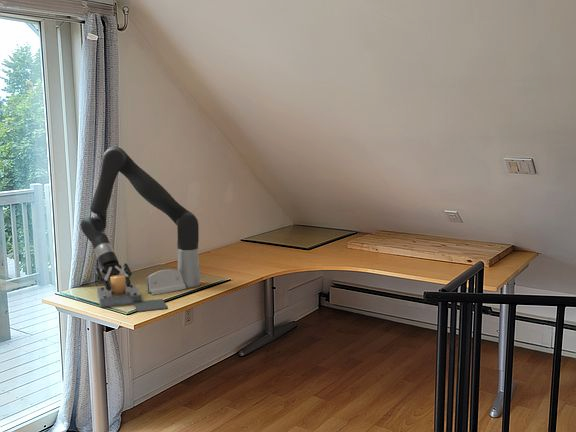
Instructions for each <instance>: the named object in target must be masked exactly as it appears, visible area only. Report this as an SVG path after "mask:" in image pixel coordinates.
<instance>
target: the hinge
mask: <svg viewBox="0 0 576 432" xmlns="http://www.w3.org/2000/svg"><path fill="white" fill-rule="evenodd" d="M146 287H147V288H146V291H147V293H148V294H149V293H151V296H155V295H154V294H156V295H160V293H161V294H165V293H170V292H176V291H179V290H180V291H181V290H182V291H183V290H185V289H187V288H186V286H185V284H184V281H183V278H182V275H181V272H180V271H178V269H169V268H168V269H161V270H158V271H155V272H154V273H151V274H149V275H148V276H147V277H146Z"/></svg>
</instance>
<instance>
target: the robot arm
mask: <svg viewBox="0 0 576 432" xmlns="http://www.w3.org/2000/svg"><path fill="white" fill-rule="evenodd" d="M119 173H120V174H122V175H123V176H124V177H125V178H126V179H127V180H128V181H129V183H130V184H131V186H132V187H133V188H134V189H135V191H136V192H137V193H138V194H139V195H140V196H141V197H142V198H143V199H144V200H145V201H147V202H148V203H149V204H150V205H151V206H153V207H154V208H156V209H157V210H159V211H161V212H162V213H164V214H165V215H166V216H168V217H169V219H170V220H171V221H172V222H173V223H174V224H175V226H177V227H176V228H177V243H176V244H177V245H176V246H177V270H178V271H180V272H181V275H182V278H183V281H184V284H185V286H186V289H188V288H195V287H200V285H201V272H200V271H201V269H200V267H201V266H200V264H199V239H200V238H199V235H200V234H199V221H198V218H197V216H195V214H194V213H192V212H191V211H189V210H188V209H187V208H185V207H184V206H183V205H181V204H180V203H179V202H178V201H177V200H175V198H174V197H173V196H172V195H171V194H170V193H169V192H168V190H166V188H165V187H163V186H162V184H160V183H159V182H158V180H156V179H155V178H153V176H151V175H150V174H149V173H147V172H146V171H145V169H143V168H141V167H140V166H139V165H138V164H137V163H136V162H135V161H134V160H133V159H132V158H131V156H129V155H128V153H127V152H126V151H125V150H124V149H123V148H121V147H119V146H110V147H108V148H107V149H106V150H105V151H104V153H103V155H102V163H101V170H100V176H99V178H98V179H99V180H98V182H97V186H96V188H95V190H94V191H95V192H94V194H93V197H92V201H91V204H90V207H89V209H90V212H91V213H93V214H95V215H96V217H93V216H85V217H83V218H82V219H81V222H80V229H81V231H82V233H83V235H84V236H85V237H86V239H88V241H89V242H90V243H91V245H92V247H93V250H94V253H95V257H96V258H97V261H98V264H99V266H100V268H99V267H97V268H96V269H95V271H94V274H95V276H96V280H97V282H98V284H101V283H102V284H103V285H104V287H105V288H106V289H107V290H108V291H110V290H111V283H110V281H109V280H108V279H109V278H110V277H111V276H112V275H125V282H126V286H127V287H129V286H130V285H131V280H130V278H131V277H132V275H133V273H132V271H131V269H130V267H129V265H128V263H126V262H125V263H124V264H122V265H121V264H120V263H119V259H118V257H117V255H116V252H115V250H114V248H113V246H112V244H111V243H110V240H109V237H108V236H107V234H106V233H104V232H105V230H106V228H107V215H108V214H107V211H108V208H109V204H110V202H111V198H112V194H113V189H114V184H115V181H116V178H117V176H118V174H119ZM102 274H104V275H105V276H104V278H103V275H102Z"/></svg>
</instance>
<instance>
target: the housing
mask: <svg viewBox="0 0 576 432" xmlns="http://www.w3.org/2000/svg"><path fill="white" fill-rule="evenodd" d="M96 293H97V295H96V296H97V299H98V303H99V307H100V308H108V307H116V306H117V305H118V306H126V305H125V304H128V305H133V304H132V303H136V302H141V301H142V298H141V297H142V296H141V293H140V291H139V289H138V287H137V284H130V286H129V287H127V286H126V290H125V291H124V293H117V294H113V292H111V290H110V291H108V290H107V289H106V288H105V286H104V287H103V286H101V287H97V288H96ZM118 306H117V307H118Z"/></svg>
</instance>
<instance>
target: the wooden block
mask: <svg viewBox="0 0 576 432" xmlns="http://www.w3.org/2000/svg"><path fill="white" fill-rule="evenodd" d="M109 279H110V281H109V283H110V286H111V292H113V294H117V293H124V291H125V290H126V282H125V275H112V276H111V277H109Z"/></svg>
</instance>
